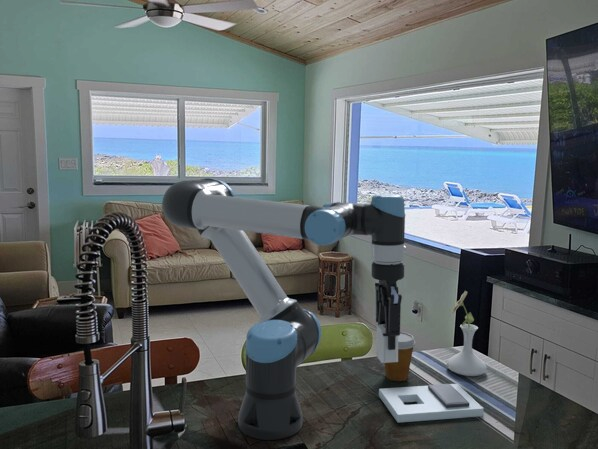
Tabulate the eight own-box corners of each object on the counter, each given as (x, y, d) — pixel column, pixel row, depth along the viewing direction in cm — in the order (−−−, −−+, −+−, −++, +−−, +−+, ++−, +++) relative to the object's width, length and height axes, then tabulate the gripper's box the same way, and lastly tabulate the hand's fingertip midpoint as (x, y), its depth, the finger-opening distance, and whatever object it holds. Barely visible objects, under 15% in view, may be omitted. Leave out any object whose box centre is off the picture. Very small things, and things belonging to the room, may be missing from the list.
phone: (446, 407, 130) (446, 404, 130) (428, 388, 141) (428, 384, 141) (469, 406, 131) (469, 402, 131) (449, 386, 142) (449, 383, 142)
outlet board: (397, 422, 127) (398, 414, 126) (378, 395, 140) (379, 388, 140) (483, 416, 131) (483, 408, 130) (456, 390, 144) (457, 383, 144)
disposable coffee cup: (416, 384, 148) (418, 342, 146) (382, 383, 148) (383, 342, 146) (410, 370, 157) (412, 331, 156) (377, 369, 157) (379, 330, 156)
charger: (381, 363, 124) (381, 329, 123) (376, 356, 128) (376, 323, 127) (398, 361, 125) (398, 328, 124) (392, 355, 129) (393, 322, 128)
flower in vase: (458, 361, 165) (463, 282, 161) (493, 372, 157) (499, 289, 153) (435, 372, 156) (440, 289, 153) (471, 385, 148) (476, 297, 144)
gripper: (416, 268, 116) (414, 371, 119) (392, 254, 132) (391, 344, 135) (382, 269, 115) (381, 373, 118) (363, 255, 132) (362, 346, 134)
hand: (387, 357), depth 127 cm, fingers closed on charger, 4 cm apart
